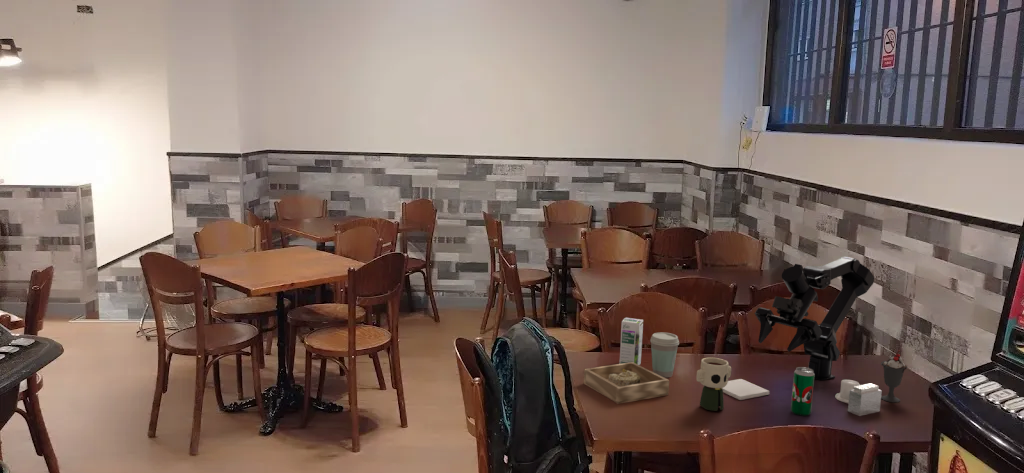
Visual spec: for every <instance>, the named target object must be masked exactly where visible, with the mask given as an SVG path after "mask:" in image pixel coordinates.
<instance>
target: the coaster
mask: <svg viewBox="0 0 1024 473" xmlns="http://www.w3.org/2000/svg"><path fill="white" fill-rule="evenodd" d="M722 389H723V394H726V395H729V396H730V397H732V398H735V399H736V400H739V401H743V400H748V399H753V398H758V397H763V396H768V395H770V390H768V389H766V388H763V387H761V386H759V385H756V384H754V383H751V382H749V381H747V380H745V379H742V378H738V379H732V380H728V383H727V385H726V386H725V387H724V388H722Z"/></svg>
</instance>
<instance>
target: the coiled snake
mask: <svg viewBox="0 0 1024 473" xmlns="http://www.w3.org/2000/svg"><path fill="white" fill-rule="evenodd" d="M640 380H641V378H640V376H639V375H638V374H636V373H634V372H631V371H627V370H625V369H623V371H622V373H620V374H619V375H618V374H610V375H609V378H608V381H610V382H612V383H614V384H616V385H617V386H619V387H621V386H627V385H633V384H640Z"/></svg>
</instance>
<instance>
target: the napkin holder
mask: <svg viewBox="0 0 1024 473" xmlns="http://www.w3.org/2000/svg"><path fill="white" fill-rule="evenodd" d="M879 387H880V386H879V385H877V384H874V383H871V382H870V383H864V384H859V386H854V389H853V390H850V394H849V403H847V404H848V406H847V412H849V413H852V414H853V415H856V416H859V417H862V416H865V415H870V414H875V413H879V412H880V411H881V402H882V399H881V396H882V392H883V391H882V390H881V389H879Z"/></svg>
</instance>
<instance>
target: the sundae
mask: <svg viewBox="0 0 1024 473" xmlns="http://www.w3.org/2000/svg"><path fill="white" fill-rule="evenodd" d="M899 352H900V349H898V350H897V352H896V353H895V354H892V355H890V356H889V358H888V359H887V360H883V361H882V362H881V363H880V365H881V366H882V367H883V380H884V383H885V384H886V386H887V387H888V388H889V389H888V393H887V394H886V395H881V400H883V401H885V402H889V403H893V404H895V403H900V402H901V399H900V398H898V397H896V396H895V392H894V391H895V388H897V387H899V386H900V385H901V383H902V381H903V376H904V372H905V371H906V370H907V369H908V366H907V365H906V364H905V363H904V361H903V358H902V357H901V354H899Z"/></svg>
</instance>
